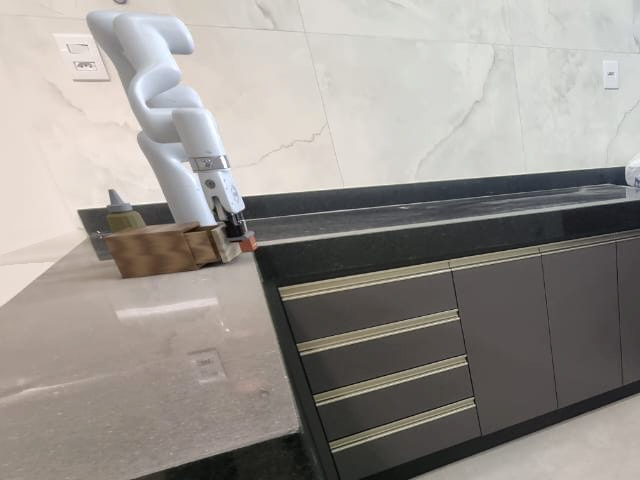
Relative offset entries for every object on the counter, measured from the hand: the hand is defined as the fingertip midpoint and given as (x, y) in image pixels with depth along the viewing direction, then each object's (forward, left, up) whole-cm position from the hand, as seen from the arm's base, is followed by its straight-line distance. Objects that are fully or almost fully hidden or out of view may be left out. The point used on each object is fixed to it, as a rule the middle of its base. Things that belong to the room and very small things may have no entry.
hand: (238, 241), depth 134 cm
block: (-13, -3, -5) cm, 14 cm away
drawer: (0, -6, -4) cm, 7 cm away
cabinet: (0, -16, -5) cm, 17 cm away
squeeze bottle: (-15, -27, -5) cm, 31 cm away
